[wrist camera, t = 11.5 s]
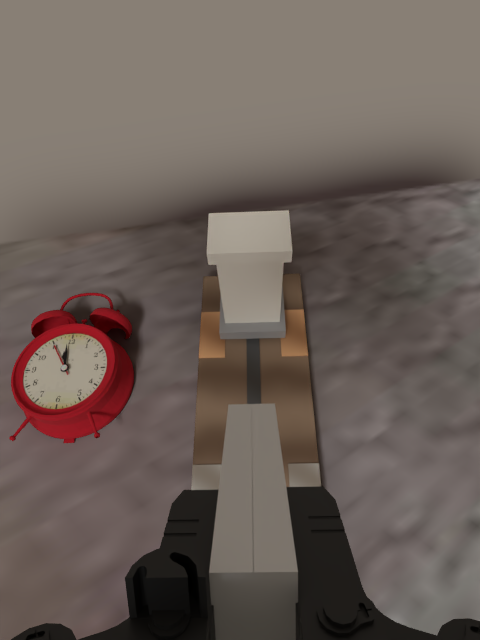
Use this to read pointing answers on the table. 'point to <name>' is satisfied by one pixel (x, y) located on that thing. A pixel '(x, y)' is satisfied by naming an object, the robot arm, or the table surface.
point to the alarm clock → (73, 373)
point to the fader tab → (250, 271)
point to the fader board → (255, 388)
